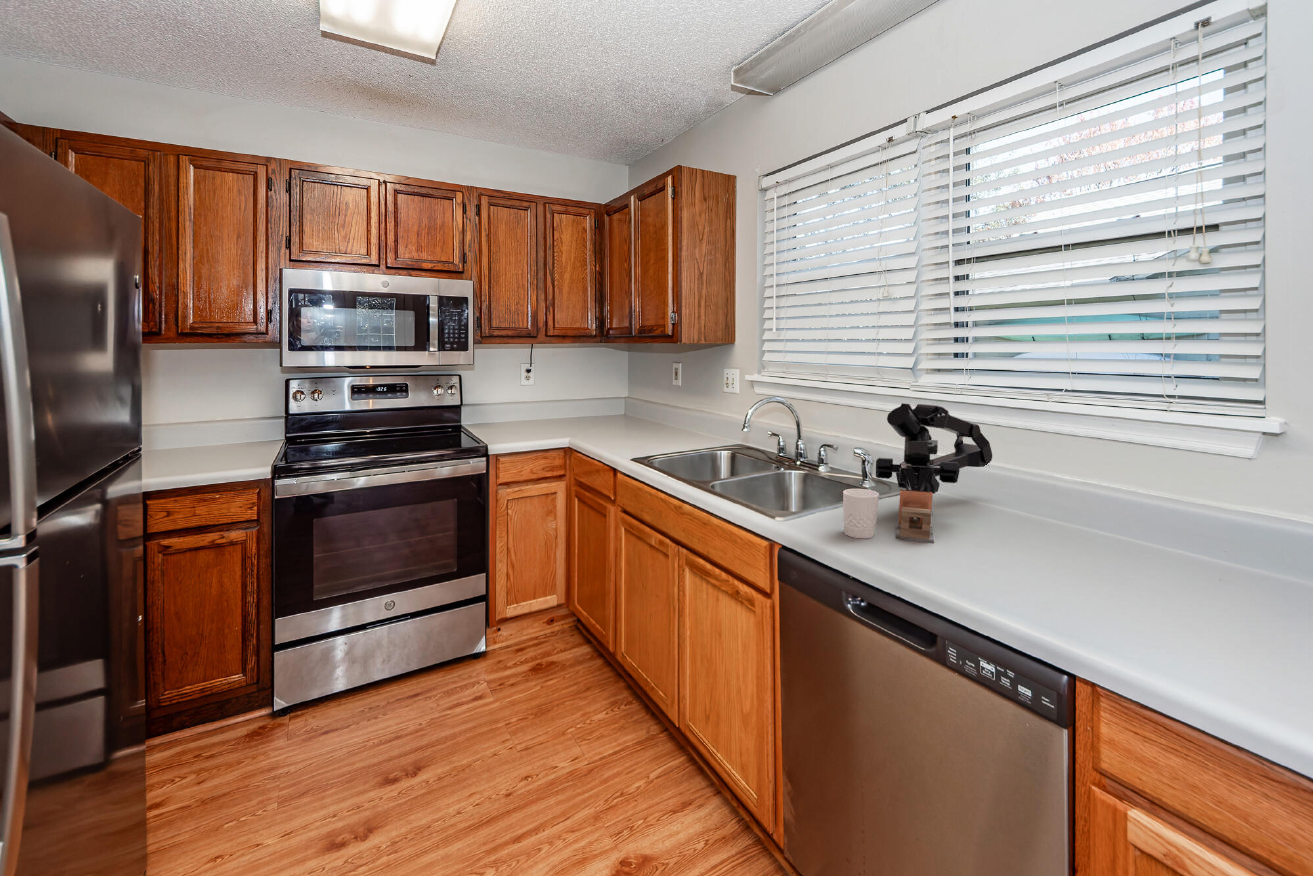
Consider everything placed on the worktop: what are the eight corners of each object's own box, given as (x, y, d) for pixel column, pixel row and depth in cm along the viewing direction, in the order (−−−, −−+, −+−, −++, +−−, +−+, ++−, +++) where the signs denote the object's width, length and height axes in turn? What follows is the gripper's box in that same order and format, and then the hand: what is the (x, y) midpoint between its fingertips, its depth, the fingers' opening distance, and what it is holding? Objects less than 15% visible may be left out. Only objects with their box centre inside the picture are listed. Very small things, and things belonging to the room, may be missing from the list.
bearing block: (895, 525, 142) (897, 499, 141) (931, 529, 139) (933, 502, 138) (895, 538, 133) (897, 510, 132) (934, 542, 130) (936, 514, 129)
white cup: (870, 541, 131) (873, 498, 129) (836, 535, 135) (838, 493, 134) (881, 532, 137) (883, 491, 135) (847, 526, 141) (849, 487, 140)
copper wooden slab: (898, 524, 140) (900, 489, 139) (930, 527, 137) (932, 491, 136) (898, 530, 136) (900, 494, 134) (931, 533, 133) (933, 497, 132)
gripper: (877, 426, 145) (874, 479, 137) (961, 429, 138) (963, 485, 130) (877, 451, 153) (874, 502, 145) (956, 455, 146) (957, 509, 138)
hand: (915, 499), depth 139 cm, fingers closed
